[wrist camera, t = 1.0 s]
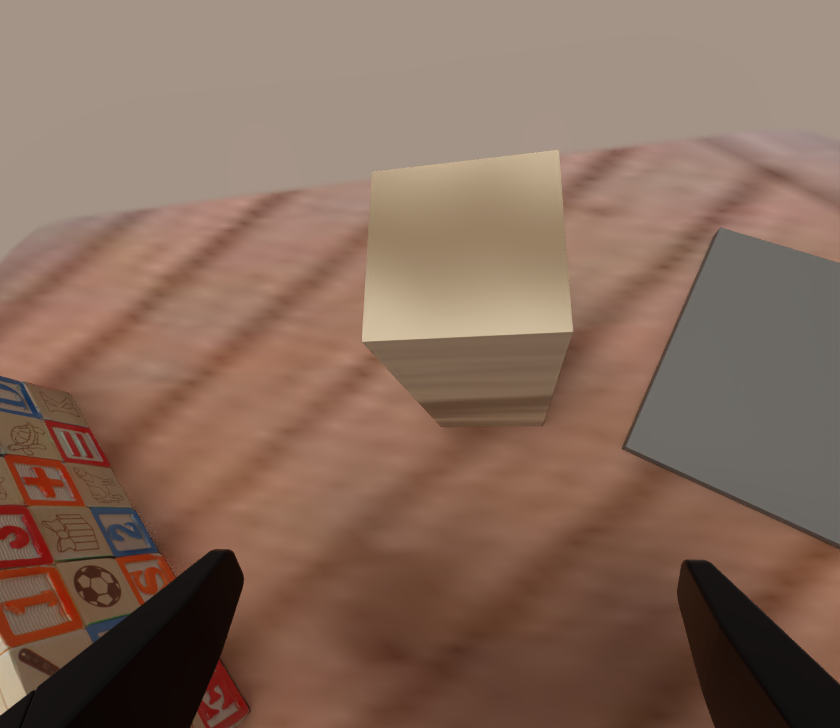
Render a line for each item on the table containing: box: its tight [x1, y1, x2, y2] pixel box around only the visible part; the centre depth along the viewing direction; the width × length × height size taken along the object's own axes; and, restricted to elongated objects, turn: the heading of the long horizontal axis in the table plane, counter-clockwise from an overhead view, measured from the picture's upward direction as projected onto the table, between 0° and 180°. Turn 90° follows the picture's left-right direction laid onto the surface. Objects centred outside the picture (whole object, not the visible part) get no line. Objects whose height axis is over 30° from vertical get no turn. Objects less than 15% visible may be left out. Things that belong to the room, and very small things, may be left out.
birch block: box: [362, 150, 573, 427], centre depth 18 cm, size 5×5×13 cm
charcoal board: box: [622, 228, 840, 549], centre depth 21 cm, size 12×12×1 cm
